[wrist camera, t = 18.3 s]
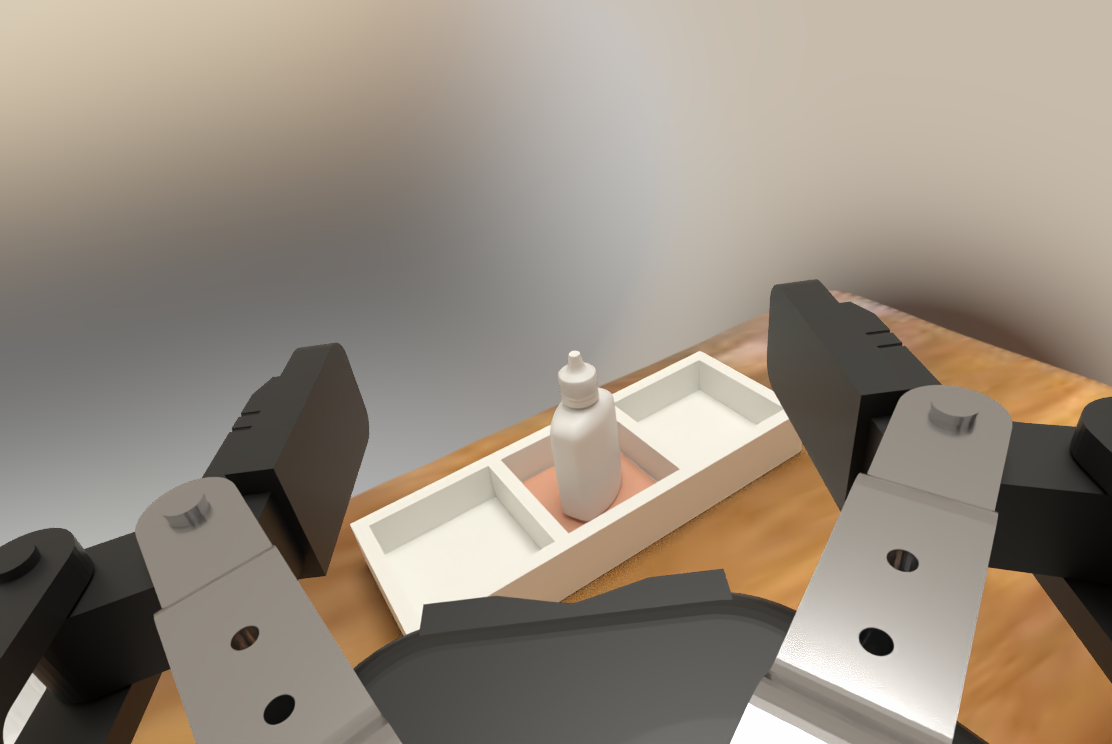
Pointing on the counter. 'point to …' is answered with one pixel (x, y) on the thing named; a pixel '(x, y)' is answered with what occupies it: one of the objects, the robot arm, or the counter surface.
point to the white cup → (22, 709)
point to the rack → (535, 507)
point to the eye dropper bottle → (585, 442)
